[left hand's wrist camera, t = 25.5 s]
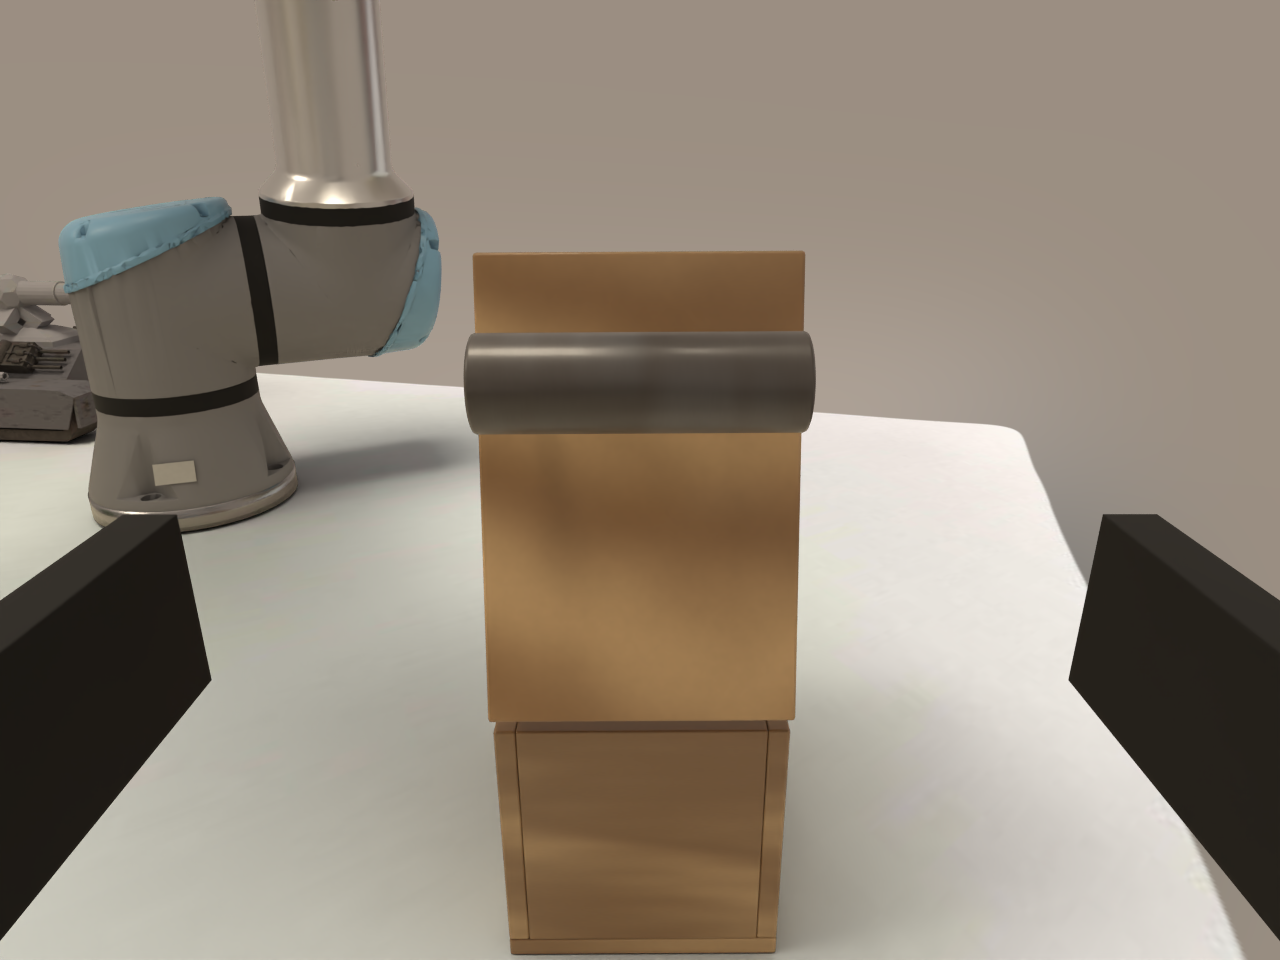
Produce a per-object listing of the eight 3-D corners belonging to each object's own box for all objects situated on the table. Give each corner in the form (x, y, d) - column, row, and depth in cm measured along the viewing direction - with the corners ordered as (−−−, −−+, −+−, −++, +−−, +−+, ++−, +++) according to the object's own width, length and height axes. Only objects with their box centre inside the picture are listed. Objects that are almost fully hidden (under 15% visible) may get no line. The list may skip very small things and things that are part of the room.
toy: (-146, 436, 87) (-198, 285, 82) (12, 386, 106) (-22, 260, 100) (84, 444, 84) (46, 289, 79) (205, 391, 103) (180, 262, 97)
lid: (479, 257, 25) (386, 202, 16) (797, 255, 25) (890, 199, 16) (494, 706, 28) (419, 890, 18) (788, 704, 28) (866, 888, 18)
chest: (547, 721, 43) (538, 549, 40) (735, 720, 43) (742, 548, 40) (510, 954, 31) (492, 732, 27) (775, 953, 31) (790, 731, 27)
